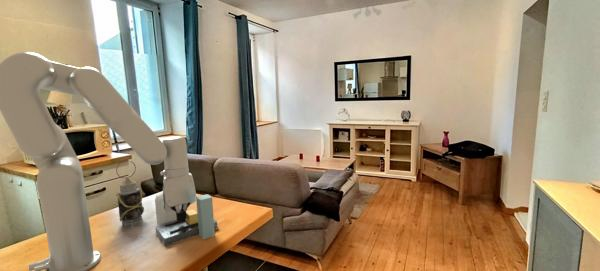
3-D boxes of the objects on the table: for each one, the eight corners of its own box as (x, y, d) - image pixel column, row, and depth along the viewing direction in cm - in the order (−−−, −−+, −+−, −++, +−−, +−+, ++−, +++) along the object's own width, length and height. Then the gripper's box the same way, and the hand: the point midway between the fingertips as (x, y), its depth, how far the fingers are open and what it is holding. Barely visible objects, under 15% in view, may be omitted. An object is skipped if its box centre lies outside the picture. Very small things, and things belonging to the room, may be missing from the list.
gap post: (203, 239, 94) (200, 200, 92) (199, 235, 97) (196, 196, 95) (214, 235, 96) (212, 197, 94) (210, 231, 99) (207, 194, 97)
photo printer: (184, 216, 113) (182, 186, 111) (186, 219, 109) (184, 189, 108) (156, 222, 107) (153, 192, 106) (157, 227, 104) (154, 195, 102)
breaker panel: (165, 245, 90) (164, 237, 90) (156, 232, 99) (155, 224, 99) (217, 228, 102) (217, 220, 101) (205, 217, 111) (204, 210, 110)
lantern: (139, 216, 113) (132, 157, 110) (149, 221, 109) (142, 159, 105) (115, 225, 106) (107, 161, 102) (125, 230, 101) (117, 164, 98)
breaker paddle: (190, 225, 99) (189, 215, 98) (185, 220, 102) (184, 211, 102) (198, 222, 101) (197, 213, 100) (193, 218, 104) (193, 209, 104)
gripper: (156, 178, 89) (162, 232, 91) (202, 169, 98) (206, 218, 101) (151, 174, 94) (156, 224, 97) (194, 165, 104) (198, 212, 107)
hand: (181, 221), depth 99 cm, fingers closed
